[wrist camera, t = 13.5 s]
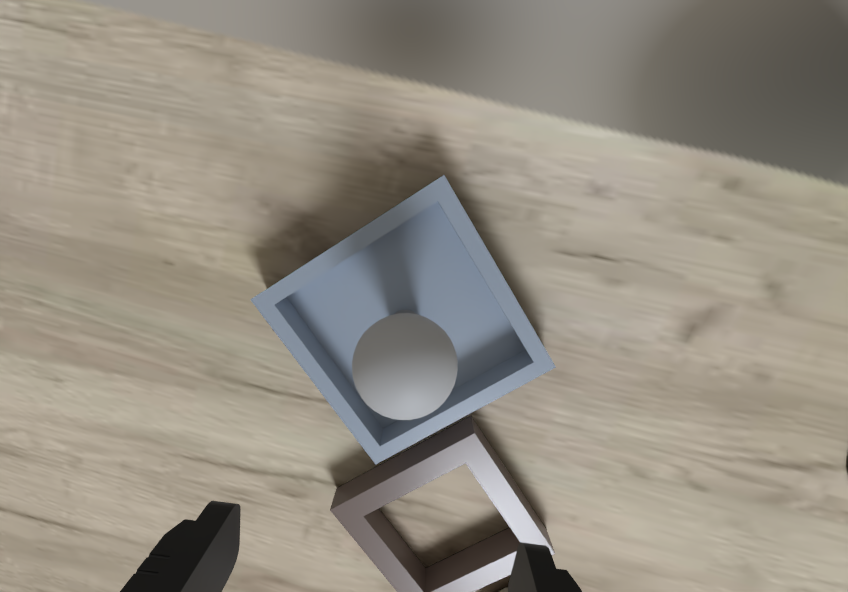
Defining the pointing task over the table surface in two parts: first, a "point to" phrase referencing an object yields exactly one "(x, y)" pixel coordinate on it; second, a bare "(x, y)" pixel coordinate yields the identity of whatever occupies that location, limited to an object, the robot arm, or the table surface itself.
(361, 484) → the brownish grey square frame
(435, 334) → the lightbulb
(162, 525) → the table surface
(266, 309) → the tray
